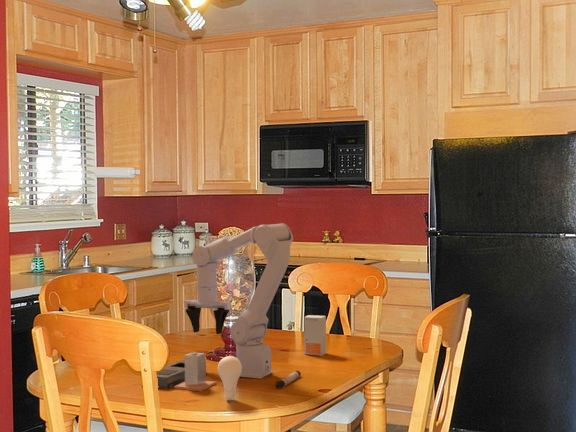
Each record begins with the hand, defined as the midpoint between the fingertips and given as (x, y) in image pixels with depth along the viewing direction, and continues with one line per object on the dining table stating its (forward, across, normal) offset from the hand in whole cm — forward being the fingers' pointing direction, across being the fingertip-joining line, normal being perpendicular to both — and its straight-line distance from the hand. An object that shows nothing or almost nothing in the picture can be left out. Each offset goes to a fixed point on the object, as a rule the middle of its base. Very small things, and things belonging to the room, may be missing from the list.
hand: (207, 332), depth 231 cm
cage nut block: (+10, +8, -20) cm, 24 cm away
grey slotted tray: (+10, -2, -15) cm, 18 cm away
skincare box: (+11, +22, +29) cm, 38 cm away
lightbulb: (+10, +23, -29) cm, 39 cm away
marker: (+11, +29, -8) cm, 32 cm away
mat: (+10, +8, -20) cm, 24 cm away
